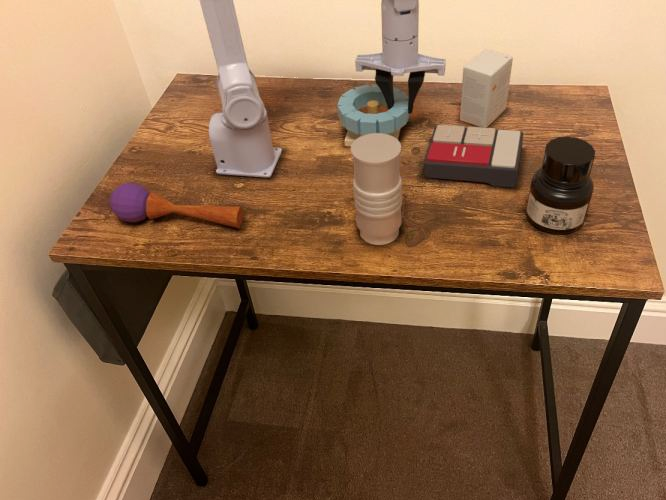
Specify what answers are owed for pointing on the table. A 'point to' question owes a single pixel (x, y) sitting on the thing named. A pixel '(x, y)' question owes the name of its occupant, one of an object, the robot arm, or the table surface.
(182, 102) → the table surface
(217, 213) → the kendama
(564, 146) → the ink bottle
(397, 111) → the ring
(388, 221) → the ribbed beige cylinder
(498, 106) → the small box
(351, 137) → the peg stand
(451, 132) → the button keypad
